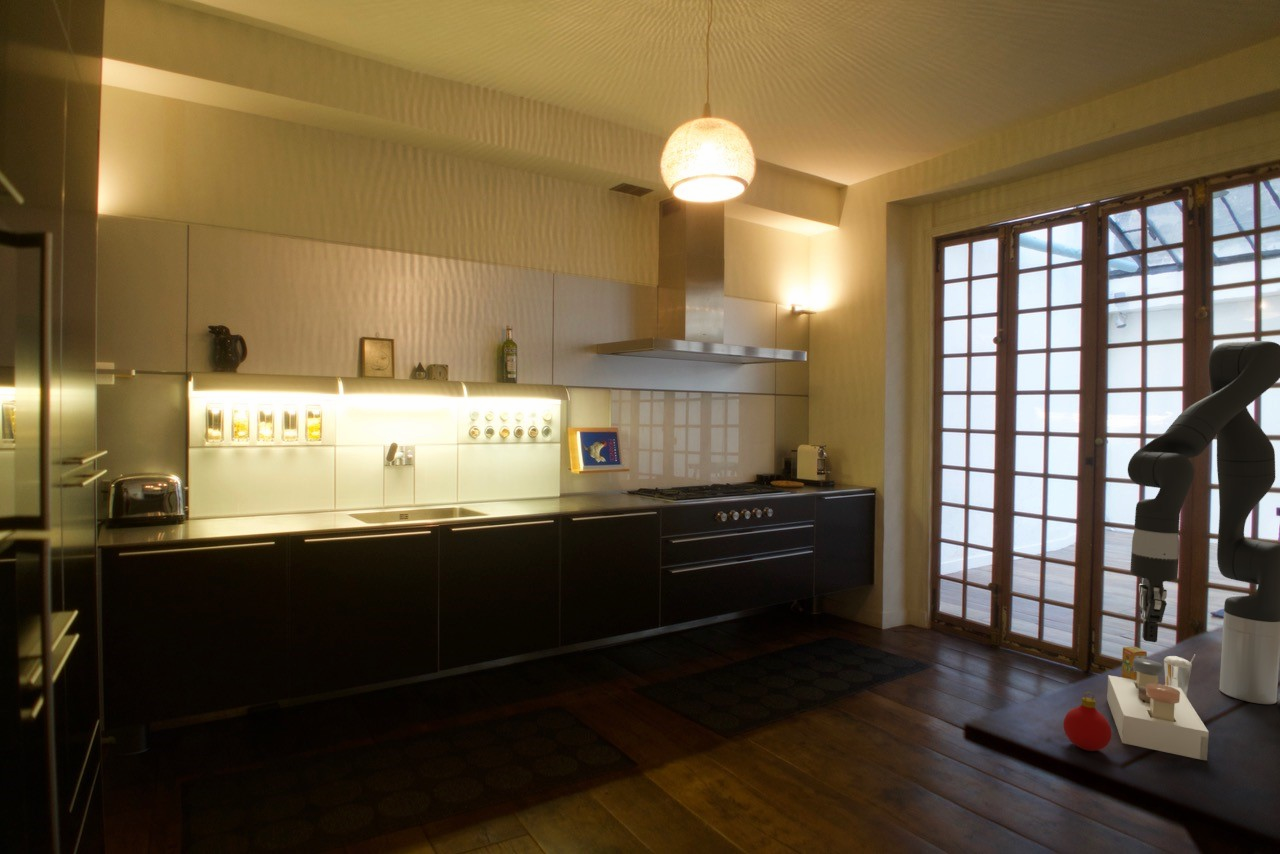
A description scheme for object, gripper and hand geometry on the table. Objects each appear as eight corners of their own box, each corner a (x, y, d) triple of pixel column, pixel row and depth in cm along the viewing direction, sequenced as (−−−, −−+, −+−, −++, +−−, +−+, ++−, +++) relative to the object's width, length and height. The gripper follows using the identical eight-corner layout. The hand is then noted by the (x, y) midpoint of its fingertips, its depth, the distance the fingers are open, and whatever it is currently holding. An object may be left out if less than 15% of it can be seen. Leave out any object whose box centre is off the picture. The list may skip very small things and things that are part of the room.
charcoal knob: (1129, 687, 142) (1131, 656, 142) (1158, 693, 140) (1160, 661, 139) (1133, 696, 138) (1135, 664, 137) (1163, 701, 135) (1165, 669, 135)
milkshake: (1198, 707, 142) (1201, 658, 142) (1168, 704, 143) (1171, 655, 143) (1186, 698, 146) (1189, 651, 146) (1157, 695, 148) (1160, 648, 147)
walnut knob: (1134, 716, 135) (1136, 683, 135) (1165, 722, 133) (1167, 689, 133) (1138, 726, 131) (1140, 692, 131) (1170, 732, 129) (1172, 698, 129)
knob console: (1106, 699, 145) (1108, 675, 144) (1178, 712, 139) (1180, 687, 139) (1122, 742, 125) (1123, 715, 125) (1206, 760, 120) (1208, 731, 119)
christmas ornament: (1093, 739, 126) (1096, 684, 126) (1120, 759, 119) (1123, 701, 119) (1053, 738, 126) (1057, 683, 126) (1078, 757, 119) (1081, 700, 119)
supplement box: (1118, 692, 148) (1121, 646, 148) (1133, 692, 148) (1136, 646, 148) (1130, 699, 145) (1133, 651, 145) (1146, 699, 145) (1149, 651, 145)
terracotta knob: (1142, 715, 129) (1144, 681, 128) (1174, 722, 126) (1176, 687, 126) (1146, 726, 124) (1148, 690, 124) (1180, 732, 122) (1182, 696, 122)
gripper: (1186, 562, 130) (1180, 654, 131) (1171, 550, 142) (1166, 635, 142) (1137, 556, 134) (1131, 646, 134) (1126, 545, 145) (1121, 628, 146)
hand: (1149, 640), depth 138 cm, fingers closed
